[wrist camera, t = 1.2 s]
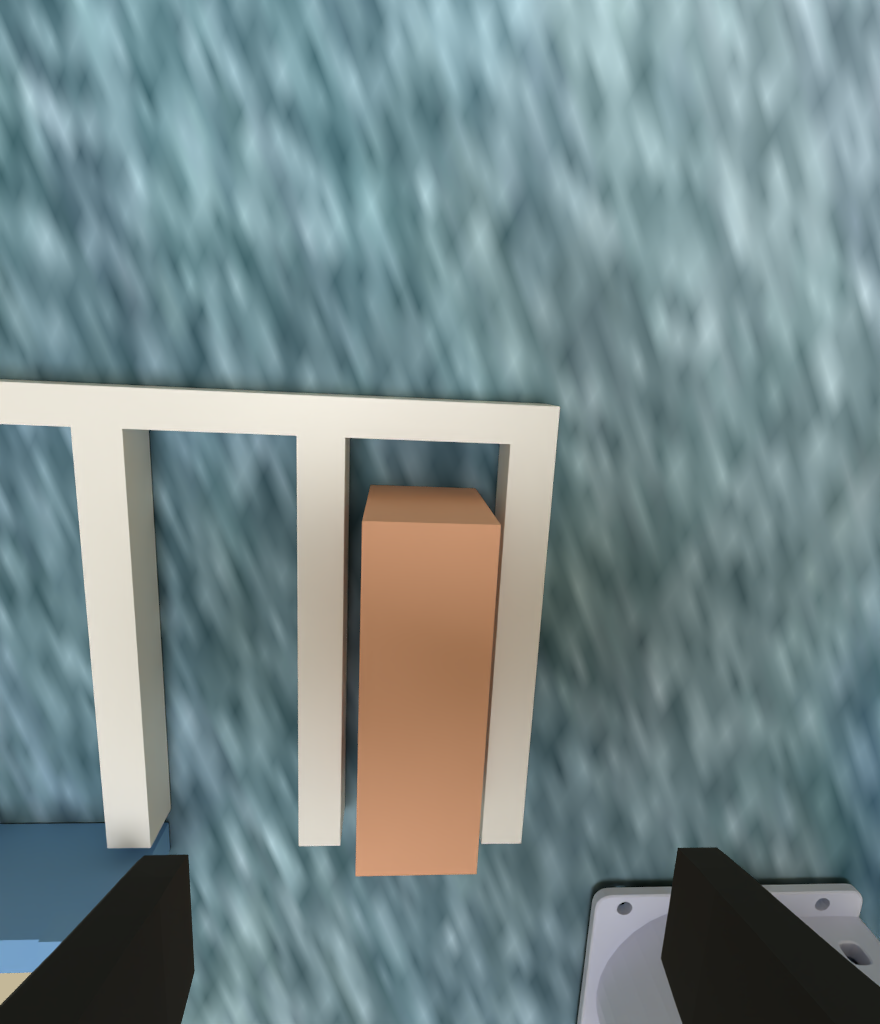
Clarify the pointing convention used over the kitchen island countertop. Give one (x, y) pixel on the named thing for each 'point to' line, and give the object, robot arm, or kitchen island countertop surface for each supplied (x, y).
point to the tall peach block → (424, 678)
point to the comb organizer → (320, 575)
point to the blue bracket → (55, 884)
